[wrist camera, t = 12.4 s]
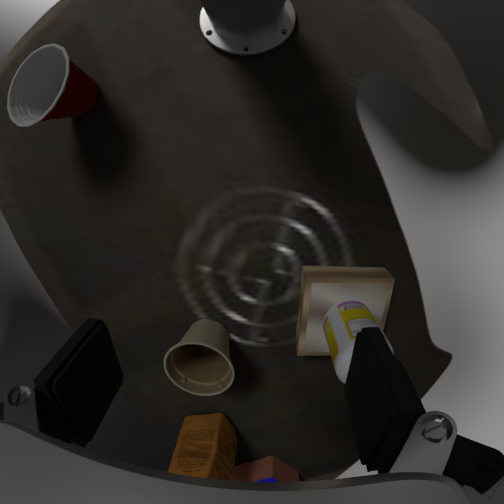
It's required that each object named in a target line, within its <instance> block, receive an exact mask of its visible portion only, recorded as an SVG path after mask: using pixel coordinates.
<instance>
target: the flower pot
mask: <svg viewBox="0 0 504 504" xmlns="http://www.w3.org/2000/svg"><path fill="white" fill-rule="evenodd" d="M164 369H165V372H166V374H167V376H168V377H169V378H170V380H171V381H172V382H173V383H174V384H175V385H177V386H178V387H179V388H181V389H183V390H185V391H187V392H189V393H192V394H196V395H201V396H212V395H217V394H220V393H222V392H224V391H225V390H227V389H228V388H229V387H230V386H231V384H232V383H233V380H234V367H233V364H232V363H231V360H230V352H229V334H228V331H227V330H226V328H225V327H224V326H223V325H222V324H221V323H219V322H217V321H212V320H208V319H202V320H199V321H197V322H195V323H194V324H193V325H192V326H191V327H190V329H189V330H188V332H187V333H186V334H185V336H184V337H183V338H182V340H181V341H180V342H179V343H178V344H176V345H174V346H173V347H172V348H170V349H169V350H168V352H167V353H166V355H165V358H164Z"/></svg>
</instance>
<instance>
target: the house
mask: <svg viewBox="0 0 504 504" xmlns="http://www.w3.org/2000/svg"><path fill="white" fill-rule="evenodd" d="M231 481H246V482H299V472H298V471H296V470H295V469H293V468H292V467H290V466H289V465H287V464H286V463H284V462H282V461H281V460H279V459H278V458H277V457H275V456H274V455H272V456H269V457H266V458H262V459H259V460H256V461H252V462H249V463H245V464H242V465H238V466H235V469H234V473H233V476H232V479H231Z"/></svg>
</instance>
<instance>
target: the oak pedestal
mask: <svg viewBox="0 0 504 504" xmlns="http://www.w3.org/2000/svg"><path fill="white" fill-rule="evenodd" d="M394 281H395V278H394V277H393V276H392V275H391V274H390V273H389V272H388V271H387V270H386V269H385V268H375V267H336V266H302V278H301V290H300V300H299V311H298V320H297V330H296V339H295V341H296V349H297V356H324V355H331V354H330V351H329V347H328V344H327V341H326V337H325V334H324V330H323V320H324V317H325V315H326V313H327V312H328V310H329V309H330V308H331V307H332V306H334V305H335V304H337V303H339V302H341V301H344V300H357V301H360V302H362V303H364V304H365V305H366V306H367V307H368V308H369V310H370V311H371V313H372V314H373V316H374V318H375V319H376V321H377V323H378V324H379V326H380V327H381V329H382V331H383V329H384V325H385V321H386V317H387V313H388V309H389V304H390V300H391V295H392V291H393V286H394Z"/></svg>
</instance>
